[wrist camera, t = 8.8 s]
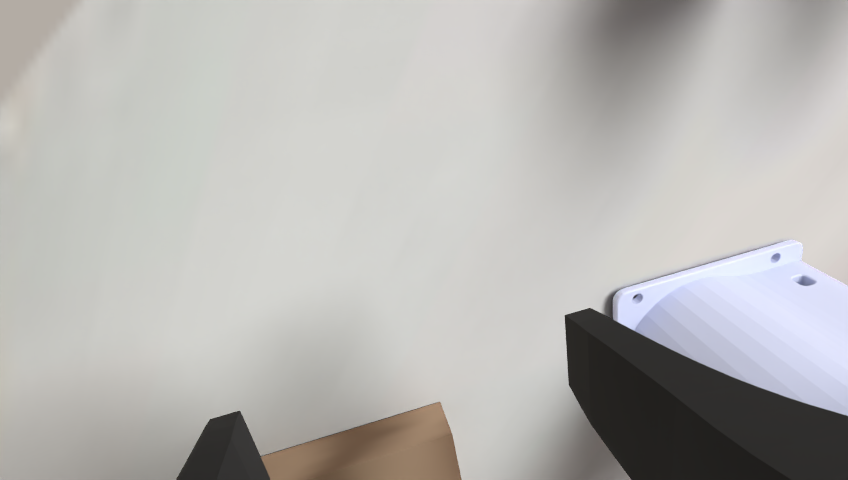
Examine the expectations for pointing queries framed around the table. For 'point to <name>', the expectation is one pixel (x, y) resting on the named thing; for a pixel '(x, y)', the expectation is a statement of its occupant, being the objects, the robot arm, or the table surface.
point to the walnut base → (375, 451)
